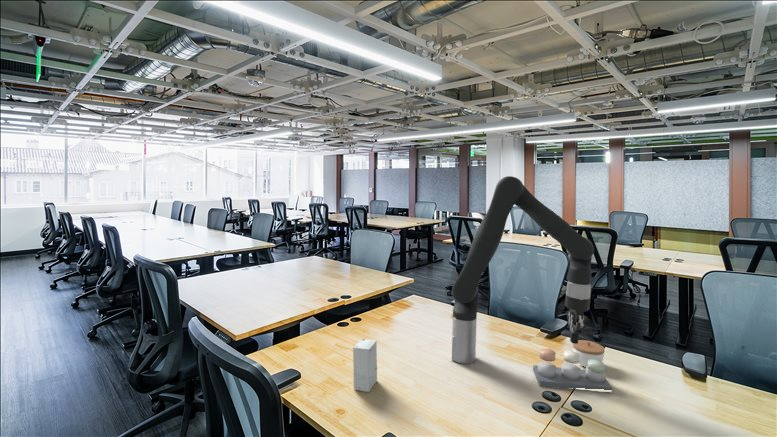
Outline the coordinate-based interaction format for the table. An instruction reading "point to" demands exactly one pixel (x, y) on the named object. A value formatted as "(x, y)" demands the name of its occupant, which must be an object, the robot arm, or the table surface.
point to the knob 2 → (595, 366)
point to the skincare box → (365, 365)
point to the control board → (569, 382)
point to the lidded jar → (588, 351)
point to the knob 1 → (547, 355)
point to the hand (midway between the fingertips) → (574, 342)
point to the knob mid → (571, 357)
